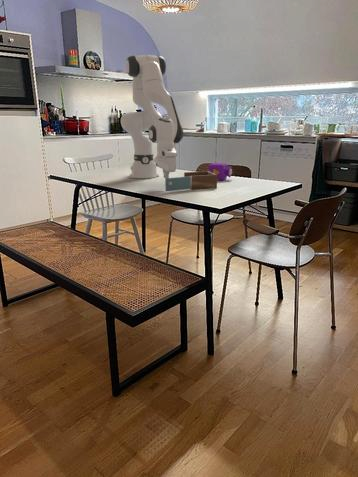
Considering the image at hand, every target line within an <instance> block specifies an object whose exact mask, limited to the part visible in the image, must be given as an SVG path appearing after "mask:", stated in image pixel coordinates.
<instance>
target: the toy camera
mask: <svg viewBox="0 0 358 477" xmlns="http://www.w3.org/2000/svg"><path fill="white" fill-rule="evenodd" d="M208 171H209V172H211V173H214V174H216V175H217V181H224V180H226V179H227V177H228V178H231V176H232V174H233V168H232V166H228V164H227V162H218V161H214V162H212V163H210V164H209V165H208Z"/></svg>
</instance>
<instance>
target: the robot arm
mask: <svg viewBox="0 0 358 477" xmlns="http://www.w3.org/2000/svg"><path fill="white" fill-rule="evenodd" d="M126 58H127V59H126V61H125V71H126V74H127V75H128V76H129V77H132V101H133V104H135V105H136V106H138V107H141V108H142V111H130V112H125V113H123V114H122V116H121V118H120V124H121V127H122V129H123V130H124V131H126V132H127V133H128V134H129V136H130V137H131V139H132V142H133V148H134V149H133V150H134V154H133V160H134V161H133V163H131V164H132V165H130V170H131V172H130V173H129V178H130V179H153V178H157V177H160V174H158V173H157V168H160V169H162V174H163V178H164V179H165V178H170V177H169V176H170V173H176V170H177V156H178V152H177V150H176V148H175V144H178V143H180V142H181V141H182V140H183V138H184V129H183V126H182V124H181V122H180V119H179V115H178V113H177V109H176V106H175V103H174V102H175V101H174V100H173V99H174V98H173V97H172V95H171V94H170V93H169V92H168V91H167V89H166V87H165V83H164V78H163V76H164V75H165V73H166V70H167V62H166V59H165V57H164V56H161V55H157V54H156V55H153V54H152V55H151V54H144V55H142V54H141V55H140V54H139V55H129V56H128V57H126ZM154 104H157V105H159V106H161V107H163V108H164V109H165V111H166V113H167V117H163V114H161V113H160V112H159V111H158V110H157V109H156V107H155V105H154ZM147 131H148V137H147V136H145V135H143V132H147ZM153 143H154V144H156V151H157V152H156V155H157V157H156V162H155V161H154V153H153Z"/></svg>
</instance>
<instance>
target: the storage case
mask: <svg viewBox="0 0 358 477" xmlns="http://www.w3.org/2000/svg"><path fill="white" fill-rule="evenodd" d="M188 176H192V189H191V190H193V191H194V190H207V189H217V188H218V180H217V175H216V174H214V173H211V172H209V170H206V171H205V170H204V171H189V172H188V171H187V172H185V171H184V173H183V177H188Z"/></svg>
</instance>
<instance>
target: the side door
mask: <svg viewBox="0 0 358 477" xmlns="http://www.w3.org/2000/svg"><path fill="white" fill-rule="evenodd" d="M164 179H165V184H164V185H165V192H174V191H184V190H192V176H188V177H184V176H176V177H169V178H164Z"/></svg>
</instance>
